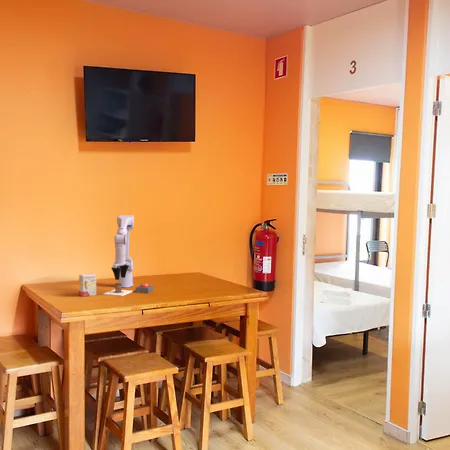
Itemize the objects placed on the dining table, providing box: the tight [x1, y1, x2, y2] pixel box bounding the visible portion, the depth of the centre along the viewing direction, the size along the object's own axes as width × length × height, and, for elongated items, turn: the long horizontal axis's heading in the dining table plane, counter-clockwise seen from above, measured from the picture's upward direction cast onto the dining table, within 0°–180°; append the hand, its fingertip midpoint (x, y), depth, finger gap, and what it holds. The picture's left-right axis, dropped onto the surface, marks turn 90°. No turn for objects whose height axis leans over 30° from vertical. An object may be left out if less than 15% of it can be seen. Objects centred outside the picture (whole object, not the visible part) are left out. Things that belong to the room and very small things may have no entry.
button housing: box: [135, 284, 154, 294], centre depth 320 cm, size 8×8×3 cm
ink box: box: [78, 273, 97, 298], centre depth 306 cm, size 9×5×12 cm, turn 131°
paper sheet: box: [102, 288, 134, 297], centre depth 314 cm, size 14×12×1 cm
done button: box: [140, 282, 149, 287], centre depth 320 cm, size 4×4×2 cm
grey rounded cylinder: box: [114, 282, 122, 293], centre depth 314 cm, size 4×4×5 cm
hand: (120, 278), depth 314 cm, fingers open, 7 cm apart
